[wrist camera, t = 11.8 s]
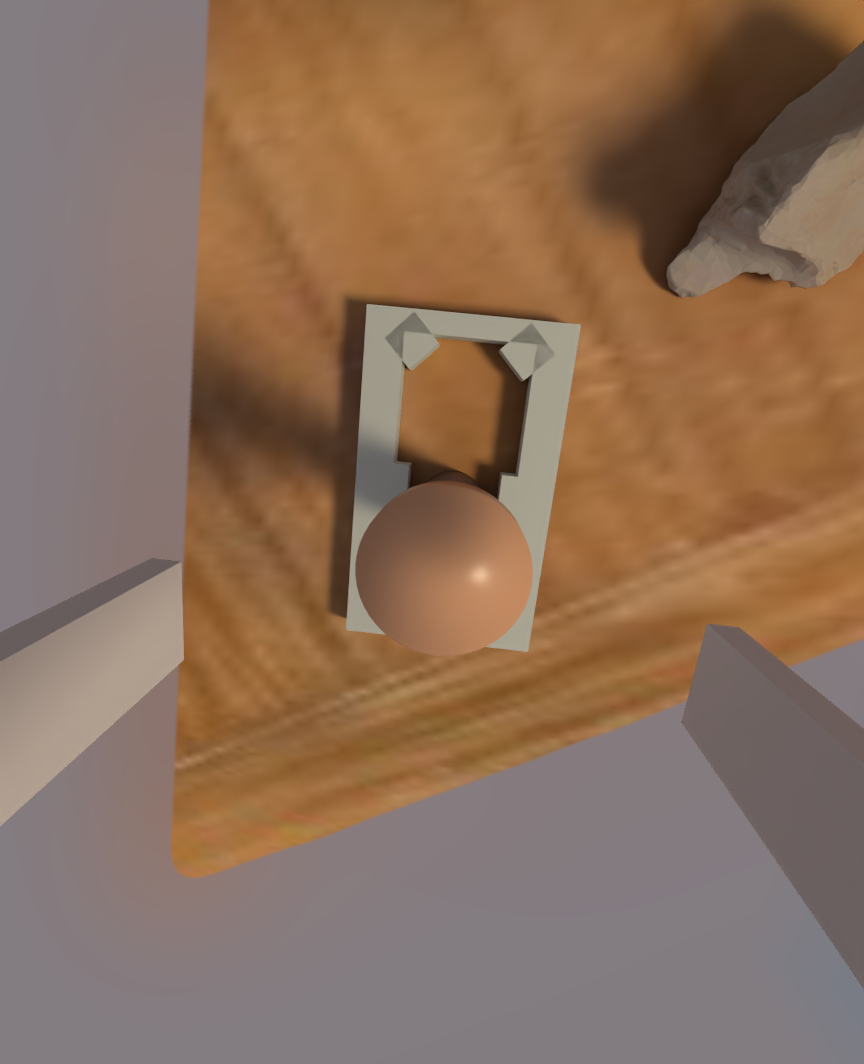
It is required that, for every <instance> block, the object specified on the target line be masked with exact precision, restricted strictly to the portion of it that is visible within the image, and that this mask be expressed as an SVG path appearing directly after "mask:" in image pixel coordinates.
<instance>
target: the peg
mask: <svg viewBox="0 0 864 1064" xmlns="http://www.w3.org/2000/svg"><path fill="white" fill-rule="evenodd" d="M355 577H356V584H357V589H358V592H359V596H360V599H361V601H362V603H363V606H364V608H365V609H366V611H367V613H368V615H369V616H370V618H371V619H372V620H373V622H374V623H375V624H376V625H377V626H378V627H379V628H380V629H381V630H382V631H383V632H384V633H385V634H386V635H387V636H389V637H390V638H391V639H393V640H394V641H396V642H397V643H399V644H401V645H402V646H405V647H407V648H409V649H411V650H414V651H417V652H421V653H424V654H430V655H438V656H453V655H461V654H467V653H470V652H473V651H477V650H479V649H481V648H484V647H486V646H488V645H490V644H491V643H493V642H495V641H496V640H498V639H499V638H500V637H501V636H503V635H504V634H505V633H506V632H507V631H508V630H509V629H510V628H511V627H512V626H513V625H514V624H515V622H516V621H517V620H518V618H519V617H520V615H521V614H522V612H523V610H524V608H525V606H526V604H527V601H528V598H529V596H530V591H531V587H532V578H533V567H532V559H531V554H530V550H529V547H528V544H527V541H526V539H525V537H524V535H523V533H522V531H521V529H520V527H519V525H518V523H517V521H516V519H515V518H514V516H513V515H512V514H511V512H510V511H509V510H508V509H507V508H506V507H505V506H504V504H502V503H501V502H500V501H499V500H498V499H496V498H495V497H494V496H492V495H491V494H489V493H488V492H486V491H484V490H482V489H481V488H480V486H479V485H478V484H477V482H476V481H475V480H474V479H473V478H471V477H470V476H468V475H467V474H464V473H461V472H457V471H448V472H443V473H441V474H438V475H437V476H435V477H434V478H432V479H431V480H430V481H429V482H428V483H423V484H420V485H417V486H414V487H411V488H409V489H407V490H405V491H403V492H401V493H400V494H398V495H397V496H396V497H394V498H393V499H391V500H390V501H389V502H388V503H387V504H386V505H385V506H384V507H383V508H382V509H381V511H380V512H379V513H378V514H377V516H376V517H375V518H374V519H373V520H372V522H371V523H370V524H369V526H368V528H367V529H366V531H365V533H364V535H363V537H362V539H361V542H360V544H359V548H358V551H357V556H356V564H355Z"/></svg>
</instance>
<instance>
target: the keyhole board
mask: <svg viewBox="0 0 864 1064" xmlns="http://www.w3.org/2000/svg"><path fill="white" fill-rule="evenodd" d="M580 327H581V325H579V324H569V323H559V322H548V321H538V320H528V319H517V318H507V317H497V316H486V315H476V314H466V313H455V312H445V311H435V310H424V309H414V308H404V307H394V306H383V305H373V304H367V309H366V325H365V341H364V356H363V372H362V388H361V403H360V419H359V435H358V450H357V466H356V482H355V497H354V513H353V529H352V544H351V560H350V576H349V591H348V607H347V623H346V630H352V631H360V632H368V633H376V634H385V633H384V632H383V631H382V630H381V629H380V628H379V627H378V626H377V625H376V624H375V623H374V622H373V620H372V619H371V618H370V616H369V615H368V613H367V611H366V609H365V608H364V606H363V603H362V601H361V599H360V596H359V592H358V589H357V584H356V577H355V564H356V556H357V551H358V548H359V544H360V542H361V539H362V537H363V535H364V533H365V531H366V529H367V528H368V526H369V524H370V523H371V522H372V520H373V519H374V518H375V517H376V516H377V514H378V513H379V512H380V511H381V509H382V508H383V507H384V506H385V505H386V504H387V503H388V502H389V501H390V500H391V499H393V498H394V497H396V496H397V495H398V494H400V493H401V492H403V491H405V490H407V489H409V488H410V477H411V466H412V462H403V461H397V455H398V443H399V431H400V419H401V407H402V395H403V383H404V371H405V364H406V366H407V367H408V368H409V369H410V370H411V371H413V370H414V369H415V368H416V367H417V366H418V365H419V364H421V363H422V362H423V361H424V360H425V359H426V358H427V357H429V356H430V355H431V354H432V353H433V352H434V351H435V350H437V349H438V348H439V347H440V345H439V343H438V342H437V340H436V339H435V338H441V339H451V340H461V341H471V342H481V343H491V344H501V345H505V346H504V347H502V348H501V349H500V350H499V354H500V355H501V356H502V358H503V359H504V360H505V362H506V363H507V364H508V366H509V367H510V368H511V370H512V371H513V372H514V374H515V375H516V376H517V378H518V379H519V380H520V382H522V381H524V380H525V379H526V378H528V377H529V381H528V388H527V395H526V403H525V410H524V417H523V424H522V431H521V438H520V445H519V452H518V459H517V466H516V473H515V474H513V473H504V472H500V478H499V485H498V493H497V499H498V500H499V501H500V502H501V503H502V504H504V506H505V507H506V508H507V509H508V510H509V511H510V512H511V514H512V515H513V516H514V518H515V519H516V521H517V523H518V525H519V527H520V529H521V531H522V533H523V535H524V537H525V539H526V541H527V544H528V547H529V550H530V554H531V559H532V567H533V578H532V587H531V591H530V596H529V598H528V601H527V604H526V606H525V608H524V610H523V612H522V614H521V615H520V617H519V618H518V620H517V621H516V622H515V624H514V625H513V626H512V627H511V628H510V629H509V630H508V631H507V632H506V633H505V634H504V635H503V636H501V637H500V638H499V639H498V640H496V641H495V642H493V643H491V644H490V645H488V646H486V647H492V648H500V649H508V650H516V651H525V652H528V648H529V642H530V635H531V629H532V623H533V617H534V611H535V605H536V598H537V592H538V586H539V580H540V574H541V568H542V561H543V555H544V549H545V543H546V537H547V531H548V524H549V518H550V512H551V506H552V500H553V494H554V487H555V481H556V475H557V469H558V463H559V457H560V450H561V444H562V438H563V432H564V426H565V420H566V413H567V407H568V401H569V395H570V389H571V383H572V376H573V370H574V364H575V358H576V352H577V346H578V340H579V333H580ZM385 635H386V634H385Z"/></svg>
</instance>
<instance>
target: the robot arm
mask: <svg viewBox="0 0 864 1064" xmlns="http://www.w3.org/2000/svg"><path fill="white" fill-rule="evenodd" d="M183 660H184V646H183V609H182V573H181V562H179V561H171V560H161V559H153V558H152V559H149V560H147V561H145V562H143V563H141V564H139V565H137V566H135V567H133V568H131V569H129V570H127V571H125V572H123V573H121V574H119V575H117V576H114V577H112V578H110V579H108V580H106V581H104V582H102V583H100V584H98V585H96V586H94V587H92V588H90V589H88V590H86V591H84V592H82V593H80V594H78V595H76V596H74V597H72V598H70V599H68V600H65V601H63V602H61V603H59V604H57V605H55V606H53V607H51V608H49V609H47V610H45V611H43V612H41V613H39V614H37V615H35V616H33V617H31V618H29V619H27V620H24V621H22V622H20V623H18V624H16V625H14V626H12V627H10V628H8V629H6V630H4V631H2V632H0V826H1V825H2V824H3V823H4V822H5V821H6V820H7V819H8V818H10V817H11V816H12V815H13V814H14V813H15V812H16V811H17V810H18V809H20V808H21V807H22V806H23V805H24V804H25V803H26V802H27V801H28V800H29V799H31V798H32V796H34V795H35V794H36V793H37V792H38V791H39V790H40V789H42V788H43V787H44V786H45V785H46V784H47V783H48V782H49V781H50V780H52V779H53V778H54V777H55V776H56V775H57V774H58V773H59V772H60V771H62V769H64V768H65V767H66V766H67V765H68V764H69V763H70V762H71V761H73V760H74V759H75V758H76V757H77V756H78V755H79V754H80V753H81V752H83V751H84V750H85V749H86V748H87V747H88V746H89V745H90V744H91V743H92V742H94V741H95V740H96V739H97V738H98V737H99V736H100V735H101V734H102V733H103V732H105V731H106V730H107V729H108V728H109V727H110V726H111V725H112V724H113V723H114V722H116V721H117V720H118V719H119V718H120V717H121V716H122V715H123V714H124V713H125V712H127V711H128V710H129V709H130V708H131V707H132V706H133V705H134V704H135V703H137V702H138V701H139V700H140V699H141V698H142V697H143V696H144V695H145V694H147V693H148V692H149V691H150V690H151V689H152V688H153V687H154V686H155V685H156V684H157V683H159V682H160V681H161V680H162V679H163V678H164V677H165V676H166V675H168V674H169V673H170V672H171V671H172V670H173V669H174V668H175V667H176V666H177V665H179V664H180V663H181V662H182V661H183ZM682 723H683V725H684V726H685V728H686V729H687V731H688V732H689V734H690V735H691V737H692V738H693V739H694V741H695V742H696V744H697V745H698V747H699V748H700V750H701V751H702V753H703V754H704V756H705V757H706V759H707V760H708V762H709V763H710V764H711V766H712V767H713V769H714V770H715V772H716V773H717V775H718V776H719V777H720V779H721V781H722V782H723V783H724V785H725V786H726V788H727V789H728V791H729V792H730V794H731V795H732V797H733V798H734V800H735V801H736V803H737V804H738V805H739V807H740V808H741V810H742V811H743V813H744V814H745V816H746V817H747V819H748V820H749V822H750V823H751V824H752V826H753V827H754V829H755V830H756V832H757V833H758V835H759V836H760V838H761V839H762V841H763V842H764V844H765V845H766V846H767V848H768V849H769V851H770V852H771V854H772V855H773V857H774V858H775V859H776V861H777V862H778V864H779V866H780V867H781V868H782V870H783V871H784V873H785V874H786V876H787V877H788V879H789V880H790V882H791V883H792V885H793V886H794V887H795V889H796V890H797V892H798V893H799V895H800V896H801V898H802V899H803V901H804V902H805V904H806V905H807V907H808V908H809V910H810V911H811V912H812V914H813V915H814V917H815V918H816V919H817V921H818V923H819V924H820V925H821V927H822V929H823V930H824V931H825V933H826V934H827V936H828V937H829V939H830V940H831V942H832V943H833V945H834V946H835V948H836V949H837V950H838V952H839V953H840V955H841V956H842V958H843V959H844V961H845V962H846V964H847V965H848V967H849V968H850V970H851V971H852V973H853V974H854V975H855V977H856V978H857V980H858V981H859V983H860V984H861V986H862V987H863V988H864V729H863V728H862V727H861V726H860V725H858V724H857V723H856V722H855V721H853V720H852V719H851V718H850V717H849V716H847V715H846V714H845V713H844V712H842V711H841V710H840V709H839V708H838V707H836V706H835V705H834V704H832V703H831V702H830V701H829V700H828V699H826V698H825V697H824V696H823V695H822V694H820V693H819V692H818V691H817V690H815V689H814V688H813V687H812V686H810V685H809V684H808V683H806V682H805V681H804V680H803V679H802V678H801V677H799V676H798V675H797V674H796V673H794V672H793V671H792V670H791V669H790V668H788V667H787V666H786V665H785V664H783V663H782V662H781V661H780V660H778V659H777V658H776V657H775V656H774V655H772V654H771V653H770V652H769V651H767V650H766V649H765V648H764V647H762V646H761V645H760V644H759V643H758V642H756V641H755V640H754V639H753V638H751V637H750V636H749V635H748V634H746V633H745V632H744V631H743V630H742V629H740V628H739V627H730V626H722V625H713V624H707V626H706V630H705V634H704V638H703V642H702V646H701V649H700V653H699V657H698V661H697V665H696V669H695V673H694V676H693V680H692V684H691V688H690V692H689V696H688V699H687V703H686V708H685V711H684V715H683V719H682Z"/></svg>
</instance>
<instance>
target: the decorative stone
mask: <svg viewBox="0 0 864 1064" xmlns="http://www.w3.org/2000/svg"><path fill="white" fill-rule="evenodd" d="M862 252H864V41H863V42H862V43H861V44H860V45H859V46H858V47H857V48H856V49H855V50H854V51H853V52H851V53H850V54H849V55H848V56H847V57H846V58H845V59H843V60H842V61H841V62H840V63H839V64H838V66H837V67H836V68H835V70H834V71H833V72H832V73H830V74H829V75H828V76H826V77H825V78H824V79H823V80H821V81H820V82H819V83H817V84H816V85H815V86H814V87H813V88H812V89H811V90H810V91H808V92H806V93H804V94H803V95H801V96H800V97H798V98H797V99H795V100H794V101H792V102H791V103H789V104H788V105H787V106H786V107H785V108H784V109H783V111H782V112H781V113H780V114H779V115H778V116H777V117H776V119H775V120H774V121H773V122H772V123H771V124H770V125H769V126H768V127H767V128H766V130H765V131H764V132H763V133H762V135H761V136H760V137H759V139H758V140H757V142H756V143H755V144H754V145H752V146H751V147H750V148H749V149H748V150H747V151H746V152H745V153H744V154H743V155H742V156H741V158H740V159H739V160H738V161H737V162H736V163H735V165H734V166H733V169H732V172H731V174H730V176H729V178H728V179H727V180H726V181H725V182H724V184H723V186H722V190H721V194H720V196H719V197H718V199H717V200H716V201H715V203H714V204H713V205H712V206H711V209H710V210H709V211H708V212H707V213H706V215H705V216H704V217H703V218H702V220H701V221H700V223H699V225H698V229H697V231H696V233H695V235H694V236H693V238H692V240H691V241H690V243H689V245H688V246H686V247H685V248H684V249H682V250H681V252H680V253H679V254H678V255H677V256H676V257H675V259H674V261H673V262H671V263H670V264H669V265H668V268H667V273H666V277H667V280H668V286H669V288H670V289H672V290H673V291H675V292H676V293H677V294H678V295H679V296H680V298H683V297H687V296H689V297H697V296H700V295H703V294H705V293H706V292H708V291H710V290H712V289H714V288H717V287H719V286H720V285H722V284H723V283H727V282H729V281H730V280H732V279H733V278H735V277H736V276H738V275H740V274H741V273H744V272H749V273H754V272H756V273H758V274H768V275H769V276H770V277H771V279H772V280H774V281H776V280H783V281H788V282H789V283H790V285H791V287H801V288H805V289H807V288H811V287H816V286H820V285H823V284H824V283H825V282H826V281H827V280H828V279H830V278H831V277H832V276H834V275H835V274H836V273H839V272H841V271H843V270H846V269H847V268H849V267H850V266H851V265H852V264H853V262H854V261H855V260H856V259H857V257H858V256H859V255H860V254H861V253H862Z"/></svg>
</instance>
